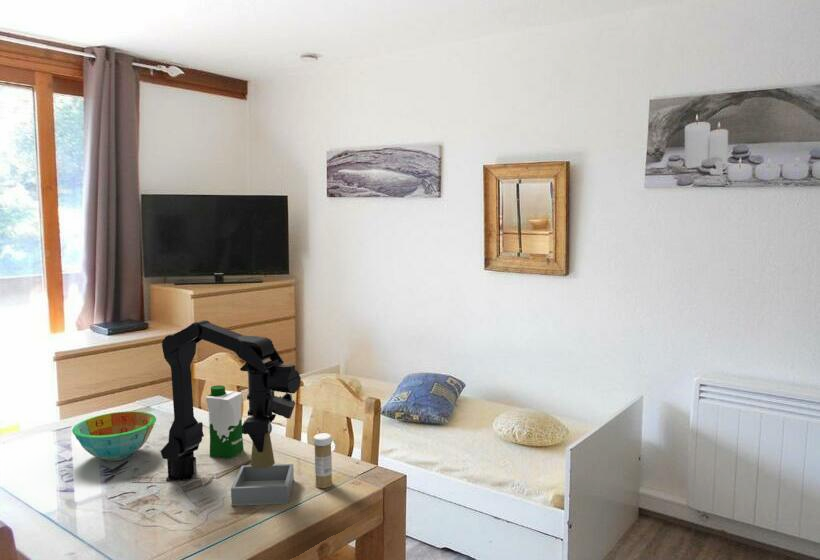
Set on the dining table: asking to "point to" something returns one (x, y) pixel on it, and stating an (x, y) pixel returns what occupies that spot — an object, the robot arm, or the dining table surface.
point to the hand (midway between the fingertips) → (262, 448)
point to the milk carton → (225, 422)
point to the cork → (263, 454)
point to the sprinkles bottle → (323, 460)
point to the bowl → (114, 434)
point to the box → (262, 485)
